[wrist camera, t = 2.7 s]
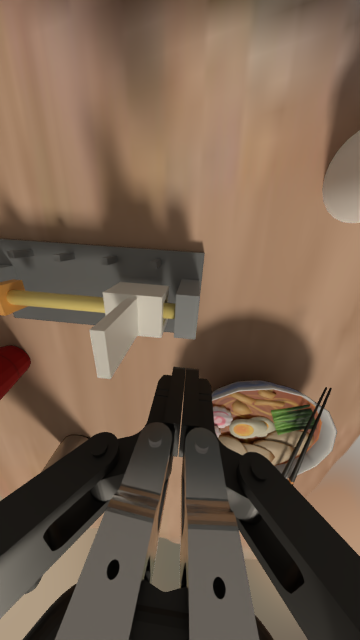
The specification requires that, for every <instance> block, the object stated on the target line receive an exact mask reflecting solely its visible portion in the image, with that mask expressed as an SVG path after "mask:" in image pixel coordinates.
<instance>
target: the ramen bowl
mask: <svg viewBox="0 0 360 640" xmlns="http://www.w3.org/2000/svg"><path fill="white" fill-rule="evenodd" d="M331 389H332V388H330V389H329V391H328V393H327V396H326V398H325V400H324V402H323V405H322V406H320V403H321V400H322V398H323V396H324V394H325V392H326V390H327V387H325V389H324V391H323V393H322V395H321V397H320V399H319V401H318V403H316V402H314V401H313V400H311V399H310V398H309V397H307V396H306V395H304V394H302V393H300V392H299V391H297V390H294V389H292V388H289V387H286V386H282V385H278V384H274V383H270V382H266V381H262V380H254V381H239V382H235V383H232V384H229V385H227V386H224V387H221V388H218V389H217V390H215V391H214V392H213V393H212V403H213V414H214V426H215V432H216V435H217V437H218V439H219V440H220V441H221V443H222V444H223V445H224V446H226V447H227V448H229V449H231V450H233V451H235V452H237V453H239V454H241V455H243V454H245V453H247V452H257V453H259V454H261V455H263V456H265V457H266V458H267V459H268V460H269V461H270V462H271V463H272V464H273V465H274V466H275V467H276V468H277V469H278V470H279V471H280V472H281V474H282V475H283V476H284V477H285V478H289V480H288V481H289V482H290V483H291V484H292V485H293V483H294V481H295V479H296V476H297V475H299V474H301V473H303V472H305V471H307V470H309V469H311V468H314V467H316V466H317V465H318V464H319V463H320V462H321V461H322V460H323V459H324V458H325V457H326V456H327V455H328V454H329V453H330V452H331V451H332V449H333V446H334V442H335V438H336V434H337V430H336V427H335V425H334V422H333V420H332V418H331V415H330V413H329V411H327V410H326V409H324V407H325V404H326V402H327V399H328V397H329V394H330V392H331Z"/></svg>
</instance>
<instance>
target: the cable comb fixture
mask: <svg viewBox="0 0 360 640" xmlns="http://www.w3.org/2000/svg"><path fill="white" fill-rule="evenodd" d="M204 254H205V253H203V252H189V251H174V250H160V249H145V248H131V247H116V246H102V245H87V244H73V243H58V242H44V241H30V240H15V239H1V238H0V315H3V316H6V315H8V314H11V313H13V315H14V317H15V318H25V319H35V320H46V321H56V322H67V323H77V324H88V325H96V324H97V323H98V322H99V321H100V320H102V319H103V318H104V317H105V308H104V300H103V292H104V291H106V290H107V289H109V288H111V287H113V286H114V285H116V284H118V283H119V282H127V283H139V284H152V285H164V286H169V296H168V303H163V318H167V319H168V321H167V324H166V326H165V329H164V332H173V333H174V337H175V338H185V339H195V338H196V328H197V319H198V310H199V301H200V290H201V281H202V272H203V263H204Z"/></svg>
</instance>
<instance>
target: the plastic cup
mask: <svg viewBox="0 0 360 640" xmlns="http://www.w3.org/2000/svg"><path fill="white" fill-rule="evenodd" d="M30 364H31V361H30V358H29V356H28V355H27V353H26V352H24V351H23V350H22V349H20V348H18V347H16V346H12V345H9V346H5V347H0V400H1V399H2V398H3V396H4V395H5V394H6V393H7V392H8V391H9V390H10V389H11V388H12V386H13V385H14V384H15V383H16V382H17V381H18V379H19V378H20V377H21V376H22V375H23V374H24V373H25V372H26V371H27V369H28V368H29V366H30Z"/></svg>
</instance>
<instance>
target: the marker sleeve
mask: <svg viewBox="0 0 360 640" xmlns="http://www.w3.org/2000/svg"><path fill="white" fill-rule="evenodd" d="M168 296H169V286H164V285H152V284H139V283H127V282H119V283H118V284H116V285H114V286H113V287H111V288H109V289H107V290H106V291H104V292H103V300H104V308H105V317H104V318H103V319H102V320H100V321H99V322H98V323H97V324H96V325H95V326H93V327H92V328H91V329H90V336H91V342H92V348H93V354H94V360H95V365H96V371H97V377H98V378H106V379H111V378H112V376H113V374H114V373H115V371H116V370H117V368H118V366H119V365H120V363H121V361H122V360H123V358H124V356H125V355H126V353H127V352H128V350H129V348H130V347H131V345H132V343H133V342H134V340H135V338H136V337H137V336H147V337H157V338H161V337H162V335H163V332H164V329H165V326H166V324H167V321H168V319H167V318H163V303H168Z"/></svg>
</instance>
